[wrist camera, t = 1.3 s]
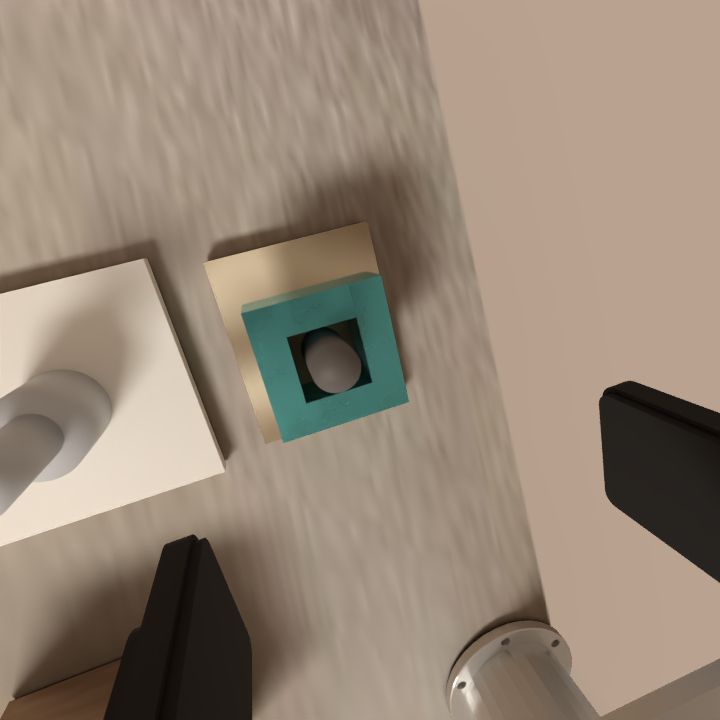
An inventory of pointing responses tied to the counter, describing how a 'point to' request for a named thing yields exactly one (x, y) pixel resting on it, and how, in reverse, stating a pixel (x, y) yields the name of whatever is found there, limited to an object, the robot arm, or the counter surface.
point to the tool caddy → (68, 698)
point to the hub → (94, 401)
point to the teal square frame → (315, 310)
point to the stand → (285, 274)
